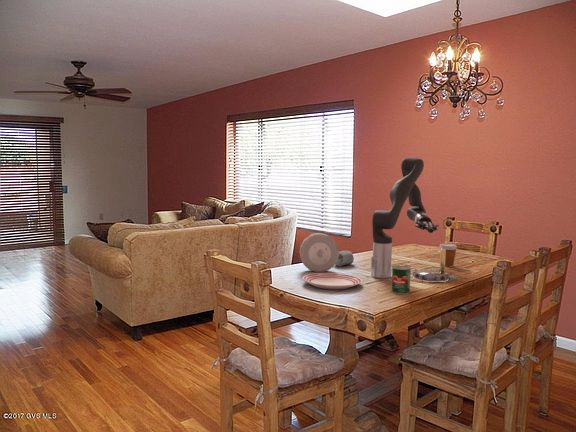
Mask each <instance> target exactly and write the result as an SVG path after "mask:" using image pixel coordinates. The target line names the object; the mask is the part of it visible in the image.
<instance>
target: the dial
mask: <svg viewBox="0 0 576 432" xmlns="http://www.w3.org/2000/svg"><path fill="white" fill-rule="evenodd" d="M339 252H340V251H339V247H338V245H337V242H336V241H335V239H334V238H332V237H331V236H330V235H328V234H326V233H322V232H315V233H310V234H309V235H307V236H306V237H305V238H304V239H303V240H302V242H301V244H300V246H299V257H300V260H301V262H302V264H303V265H304V267H305V268H306V269H307V270H309V271H311V272H313V273H326V272H327V271H330V270H331V269H332V268H333V267H334V266H336V265H335V264H336V262H337V260H338V256H339Z"/></svg>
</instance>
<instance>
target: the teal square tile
mask: <svg viewBox="0 0 576 432" xmlns="http://www.w3.org/2000/svg"><path fill="white" fill-rule="evenodd" d="M449 278H450V279H449V280H457V276H455V275H449Z"/></svg>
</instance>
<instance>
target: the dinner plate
mask: <svg viewBox="0 0 576 432" xmlns="http://www.w3.org/2000/svg"><path fill="white" fill-rule="evenodd" d="M302 280H303V281H304V282H305V283H307V284H309V285H312V286H314V287H316V288H320V289H324V290H344V289H345V290H346V289H350V288H351V287H355V286H357V285H359V284H361V283H362V282H363V280H362V278H360V277H358V276H355V275H350V274H345V273H336V272H313V273H308V274H305V275H303V276H302Z"/></svg>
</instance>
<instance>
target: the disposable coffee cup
mask: <svg viewBox="0 0 576 432" xmlns="http://www.w3.org/2000/svg"><path fill="white" fill-rule="evenodd" d="M438 247H439V250H440V251H439V252H440V253H441V249H442V248H443V249H446V256H445V266H453V267H454V265H455V264H454V263H455V259H456V258H455V257H456V251H457V249H458V247H457V244H453V243H440V244H439V246H438ZM440 253H439V254H440Z"/></svg>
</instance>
